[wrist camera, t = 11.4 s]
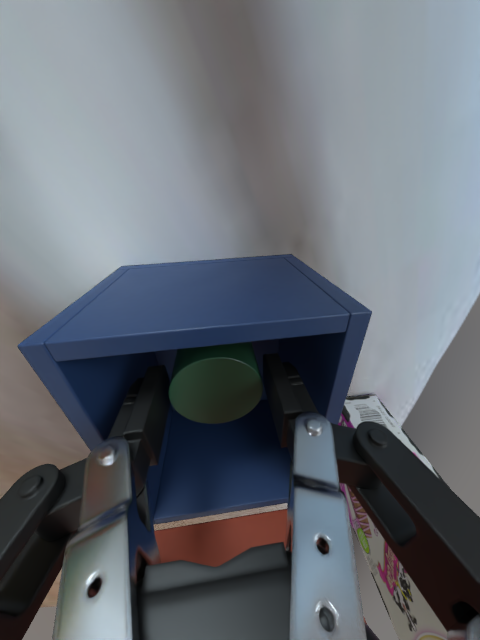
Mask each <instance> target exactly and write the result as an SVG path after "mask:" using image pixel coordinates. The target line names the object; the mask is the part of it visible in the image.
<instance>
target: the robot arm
mask: <svg viewBox="0 0 480 640" xmlns="http://www.w3.org/2000/svg"><path fill="white" fill-rule="evenodd" d="M263 383H264V388H265V391H266V395H267V399H268V402H269V406H270V409H271V413H272V417H273V420H274V424H275V428H276V431H277V435H278V438H279V442H280V446H281V448H284V447H288V450H289V453H290V467H289V488H288V508H287V521H286V534H285V546H284V542H278V543H273V544H267V545H261V546H256V547H251V548H249V549H247V550H246V551H244V552H242V553H240V554H239V555H237V556H235V557H234V558H232V559H230V560H229V561H227V562H225V563H223V564H222V565H220V566H217V567H212V566H208V565H203V564H199V563H194V562H189V561H185V560H177V561H171V562H166V563H161V558H160V553H159V549H158V545H157V542H156V538H155V533H154V526H153V518H152V510H151V501H150V493H149V485H148V479H147V474H148V470H149V466H154V465H158V462H159V457H160V452H161V447H162V442H163V437H164V432H165V428H166V423H167V418H168V413H169V408H170V403H171V402H170V399H169V394H168V393H169V386H170V380H169V377H168V373H167V370H166V367H165V365H158V366H149V367H148V368H147V371H146V373H145V376H144V378H138V379H137V380H136V381H135V382H134V383H133V384H132V385H131V386H130V388H129V390H128V392H127V395H126V398H125V399H124V402H123V406H121V409H120V411H119V413H118V416H117V418H116V420H115V422H114V425H113V427H112V429H111V432H110V434H109V436H108V438H107V439H106V440H104V441H102V442H101V443H100V444H98V445H97V446H96V447H95V448H94V449H93V450H92V451H91V453H90V454H89V456H88V458H86V459H84V460H81V461H79V462H77V463H74V464H72V465H70V466H67V467H65V468H63V469H60V470H59V469H58V468H57V467H56V466H55V465H53V464H44V465H41V466H38V467H36V468H34V469H32V470H30V471H29V472H27V473H26V474H24V475H23V476H22V477H21V478H20V479H18V480H17V481H16V482H15V483H14V484H13V486H12V487H11V488H10V489H9V490H8V491H7V492H6V494H5V495H4V496H3V497H2V498H1V499H0V640H22V638H23V637H24V635H25V633H26V631H27V630H28V628H29V626H30V624H31V622H32V621H33V619H34V617H35V615H36V613H37V611H38V609H39V608H40V606H41V604H42V602H43V601H44V599H45V597H46V595H47V593H48V592H49V590H50V588H51V586H52V584H53V583H54V581H55V579H56V577H57V575H58V574H59V572H60V570H61V568H62V573H61V580H60V587H59V594H58V601H57V608H56V615H55V622H54V629H53V636H52V640H379V639H378V637H377V636H376V635H375V634H374V633H373V631H372V630H371V629H370V628H369V627H368V625H367V624H366V623H365V622H364V616H363V609H362V603H361V596H360V588H359V581H358V575H357V567H356V561H355V554H354V546H353V540H352V532H351V525H350V518H349V511H348V505H347V500H346V496H345V494H344V492H343V491H342V490H341V488H340V484H339V483H343V484H347V485H348V487H349V488H350V490H351V491H352V493H353V494H354V496H355V497H356V499H357V500H358V502H359V503H360V504H361V506H362V507H363V509H364V510H365V512H366V513H367V515H368V516H369V518H370V519H371V521H372V522H373V524H374V525H375V527H376V528H377V529H378V531H379V532H380V534H381V535H382V537H383V538H384V540H385V541H386V543H387V544H388V546H389V547H390V549H391V550H392V551H393V553H394V554H395V556H396V557H397V559H398V560H399V562H400V563H401V565H402V566H403V568H404V569H405V571H406V572H407V574H408V575H409V576H410V578H411V579H412V581H413V582H414V584H415V585H416V587H417V588H418V590H419V591H420V593H421V594H422V596H423V597H424V599H425V600H426V601H427V603H428V604H429V606H430V607H431V609H432V610H433V612H434V613H435V615H436V616H437V618H438V619H439V621H440V622H441V623H442V625H443V626H444V628H445V629H446V631H447V632H448V633H447V640H480V517H479V516H477V515H476V514H475V513H474V512H473V511H472V510H471V509H470V508H469V507H468V506H467V505H466V504H465V503H464V502H463V501H462V500H461V499H460V498H459V497H457V495H456V494H455V493H454V492H453V491H452V490H451V489H450V488H449V487H448V486H447V485H446V484H445V483H444V482H443V481H441V480H440V479H439V478H438V477H437V476H436V475H435V474H434V473H433V472H432V471H431V470H430V469H429V468H428V467H427V466H426V465H425V464H424V463H423V462H422V461H421V460H420V459H419V458H418V457H417V456H416V455H415V454H414V453H413V452H412V451H411V450H410V449H409V448H408V447H407V446H405V445H404V444H403V443H402V442H401V441H400V440H399V439H398V438H397V437H396V436H395V435H394V434H393V433H392V432H391V431H390V430H389V429H387V428H386V427H385V426H383V425H381V424H379V423H376V422H372V421H364V422H361V423H360V424H359V425H358V426H357V428H351V427H346V426H340V425H336V424H333V423H331V422H329V421H328V420H327V419H326V418H325V417H324V416H322V415H321V414H319V413H318V411H317V409H316V407H315V405H314V403H313V401H312V399H311V397H310V395H309V393H308V391H307V389H306V387H305V385H304V384H303V381H302V379H301V378H300V375H299V373H298V371H297V369H296V368H295V367H294V366H293V365H292V364H291V363H290V362H282V361H281V359H280V357H279V354H278V353H272V354H264V355H263ZM19 553H20V554H19ZM10 566H11V567H10ZM1 579H2V580H1Z"/></svg>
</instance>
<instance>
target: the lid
mask: <svg viewBox="0 0 480 640" xmlns="http://www.w3.org/2000/svg"><path fill="white" fill-rule="evenodd" d="M286 521H287V509H283V510H277V511H271V512H265V513H259V514H253V515H247V516H241V517H235V518H229V519H223V520H217V521H211V522H205V523H199V524H193V525H187V526H181V527H175V528H169V529H163V530H157V531H154V533H155V538H156V542H157V545H158V549H159V553H160V558H161V563H166V562H171V561H177V560H185V561H189V562H194V563H199V564H203V565H208V566H212V567H217V566H220V565H222V564H223V563H225V562H227V561H229V560H230V559H232V558H234V557H235V556H237V555H239V554H240V553H242V552H244V551H246V550H247V549H249V548H251V547H256V546H261V545H267V544H273V543H278V542H284V546H285V534H286ZM364 622H365V623H366V621H365V618H364ZM366 624H367V623H366Z"/></svg>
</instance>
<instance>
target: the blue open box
mask: <svg viewBox="0 0 480 640" xmlns="http://www.w3.org/2000/svg"><path fill="white" fill-rule="evenodd" d="M371 314H372V311H370V310H369V309H368V308H366V307H365V306H363V305H362V304H361V303H359V302H358V301H356V300H355V299H354V298H352V297H351V296H349V295H348V294H347V293H345V292H344V291H342V290H341V289H340V288H338V287H337V286H335V285H334V284H332V283H331V282H330V281H328V280H327V279H325V278H324V277H323V276H321V275H320V274H318V273H317V272H316V271H314V270H313V269H311V268H310V267H309V266H307V265H306V264H304V263H303V262H302V261H300V260H299V259H297V258H296V257H294V256H293V255H292V254H287V255H273V256H260V257H246V258H232V259H218V260H204V261H190V262H176V263H162V264H148V265H134V266H121V267H120V268H118V269H117V270H116V271H115V272H113V273H112V274H111V275H110V276H108V277H107V278H106V279H104V280H103V281H102V282H100V283H99V284H98V285H96V286H95V287H94V288H92V289H91V290H90V291H88V292H87V293H86V294H84V295H83V296H82V297H81V298H79V299H78V300H77V301H75V302H74V303H73V304H71V305H70V306H69V307H67V308H66V309H65V310H63V311H62V312H61V313H59V314H58V315H57V316H55V317H54V318H53V319H52V320H50V321H49V322H48V323H46V324H45V325H44V326H42V327H41V328H40V329H38V330H37V331H36V332H34V333H33V334H32V335H30V336H29V337H28V338H26V339H25V340H24V341H23V342H21V343H20V344H19V345H18V348H19V350H20V351H21V353H22V354H23V355H24V357H25V358H26V360H27V361H28V363H29V364H30V365H31V367H32V368H33V370H34V371H35V372H36V374H37V375H38V377H39V378H40V380H41V381H42V382H43V384H44V385H45V387H46V388H47V389H48V391H49V392H50V394H51V395H52V397H53V398H54V399H55V401H56V402H57V404H58V405H59V406H60V408H61V409H62V411H63V412H64V414H65V415H66V416H67V418H68V419H69V421H70V422H71V423H72V425H73V426H74V428H75V429H76V431H77V432H78V433H79V435H80V436H81V438H82V439H83V441H84V442H85V443H86V445H87V446H88V448H89V449H90V450H91V451H92V450H93V449H94V448H95V447H96V446H97V445H98V444H100V443H101V442H102V441H104V440H106V439H107V438H108V436H109V434H110V432H111V429H112V427H113V425H114V422H115V420H116V418H117V416H118V413H119V411H120V409H121V406H123V402H124V399H125V398H126V395H127V392H128V390H129V388H130V386H131V385H132V384H133V383H134V382H135V381H136V380H137V379H138V378H144V376H145V373H146V371H147V368H148V367H149V366H158V365H165V367H166V370H167V373H168V377H169V380H170V381H171V377H172V372H173V368H174V363H175V359H176V354H177V350H178V349H185V348H195V347H205V346H214V345H224V344H234V343H244V342H252V346H253V349H254V353H255V357H256V360H257V364H258V368H259V371H260V375H261V379H262V383H263V355H264V354H272V353H278V354H279V357H280V359H281V361H282V362H290V363H291V364H292V365H293V366H294V367H295V368H296V369H297V371H298V373H299V375H300V378H301V379H302V381H303V384H304V385H305V387H306V389H307V391H308V393H309V395H310V397H311V399H312V401H313V403H314V405H315V407H316V409H317V411H318V413H319V414H321V415H322V416H324V417H325V418H326V419H327V420H328V421H329V422H331V423H333V424H336V425H338V423H339V420H340V416H341V413H342V410H343V406H344V403H345V400H346V396H347V393H348V390H349V387H350V383H351V380H352V377H353V373H354V370H355V367H356V363H357V360H358V357H359V353H360V350H361V347H362V344H363V340H364V337H365V334H366V330H367V327H368V324H369V320H370V317H371ZM289 467H290V453H289V450H288V447H284V448H281V446H280V442H279V438H278V435H277V431H276V428H275V424H274V420H273V417H272V413H271V409H270V406H269V402H268V399H267V395H266V391H265V388H264V383H263V393H262V396H261V399H260V401H259V403H258V404H257V405H256V406H255V408H254V409H253V410H251V411H250V412H249V413H247V414H246V415H244V416H242V417H241V418H238V419H236V420H233V421H230V422H225V423H218V424H207V423H200V422H196V421H192V420H190V419H187V418H186V417H184V416H182V415H181V414H179V413H178V412H177V411H176V410H175V409H174V407H173V406H172V404H171V403H170V408H169V413H168V418H167V423H166V428H165V432H164V437H163V442H162V447H161V452H160V457H159V462H158V465H154V466H149V470H148V474H147V479H148V485H149V493H150V501H151V510H152V518H153V525H154V524H161V523H167V522H173V521H179V520H185V519H191V518H197V517H203V516H210V515H216V514H222V513H228V512H234V511H240V510H246V509H252V508H258V507H265V506H271V505H277V504H283V503H288V488H289Z"/></svg>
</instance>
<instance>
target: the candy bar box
mask: <svg viewBox="0 0 480 640" xmlns="http://www.w3.org/2000/svg"><path fill="white" fill-rule="evenodd" d="M364 421H372V422H376V423H379V424H381V425H383V426H385V427H386V428H387V429H389V430H390V431H391V432H392V433H393V434H394V435H395V436H396V437H397V438H398V439H399V440H400V441H401V442H402V443H403V444H404V445H405V446H407V447H408V448H409V449H410V450H411V451H412V452H413V453H414V454H415V455H416V456H417V457H418V458H419V459H420V460H421V461H422V462H423V463H424V464H425V465H426V466H427V467H428V468H429V469H430V470H431V471H432V472H433V473H434V474H435V475H436V476H437V477H438V478H439V479H440V480H441V481H443V479H442V478H441V477H440V475H439V474H438V473H437V472H436V470H435V469H434V468H433V466H432V465H431V464H430V463H429V461H428V460H427V459H426V458H425V456H424V455H423V454H422V453H421V452H420V450H419V449H418V448H417V447H416V445H415V444H414V443H413V441H412V440H411V439H410V438H409V437H408V435H407V434H406V433H405V431H404V430H403V429H402V428H401V426H400V425H399V424H398V422H397V421H396V420H395V419H394V418H393V416H392V415H391V414H390V413H389V411H388V410H387V409H386V408H385V406H384V405H383V404H382V403H381V401H380V400H379V399H378V398H377V396H376V395H366V396H358V397H347V398H346V400H345V403H344V406H343V410H342V413H341V416H340V420H339V423H338V425H340V426H346V427H351V428H357V426H358V425H359V424H360V423H361V422H364ZM443 482H444V481H443ZM444 483H445V482H444ZM339 484H340V488H341V490H342V491H343V492H344V494H345V496H346V500H347V505H348V511H349V518H350V522H351V525H352V526H353V529H354V532H355V534H356V536H357V539H358V541H359V544H360V546H361V549H362V551H363V554H364V556H365V559H366V561H367V564H368V566H369V569H370V571H371V574H372V576H373V578H374V581H375V583H376V585H377V588H378V590H379V593H380V595H381V598H382V600H383V602H384V605H385V607H386V610H387V612H388V614H389V617H390V619H391V621H392V624H393V627H394V629H395V631H396V634H397V636H398V638H399V640H447V633H448V632H447V631H446V629H445V628H444V626H443V625H442V623H441V622H440V621H439V619H438V618H437V616H436V615H435V613H434V612H433V610H432V609H431V607H430V606H429V604H428V603H427V601H426V600H425V599H424V597H423V596H422V594H421V593H420V591H419V590H418V588H417V587H416V585H415V584H414V582H413V581H412V579H411V578H410V576H409V575H408V574H407V572H406V571H405V569H404V568H403V566H402V565H401V563H400V562H399V560H398V559H397V557H396V556H395V554H394V553H393V551H392V550H391V549H390V547H389V546H388V544H387V543H386V541H385V540H384V538H383V537H382V535H381V534H380V532H379V531H378V529H377V528H376V527H375V525H374V524H373V522H372V521H371V519H370V518H369V516H368V515H367V513H366V512H365V510H364V509H363V507H362V506H361V504H360V503H359V502H358V500H357V499H356V497H355V496H354V494H353V493H352V491H351V490H350V488H349V487H348V485H347V484H343V483H339ZM445 484H446V483H445ZM446 485H447V484H446ZM447 486H448V485H447ZM448 487H449V486H448Z"/></svg>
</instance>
